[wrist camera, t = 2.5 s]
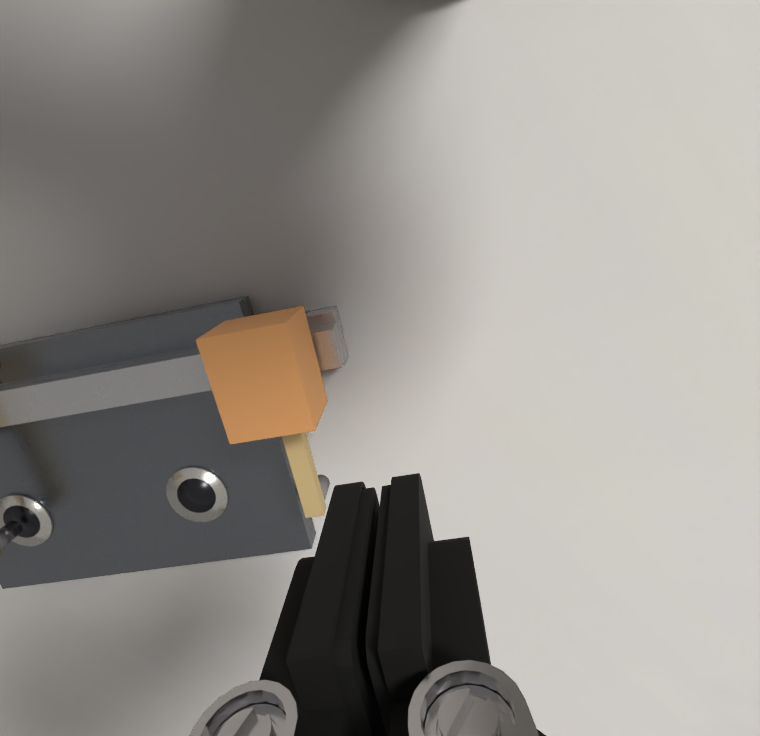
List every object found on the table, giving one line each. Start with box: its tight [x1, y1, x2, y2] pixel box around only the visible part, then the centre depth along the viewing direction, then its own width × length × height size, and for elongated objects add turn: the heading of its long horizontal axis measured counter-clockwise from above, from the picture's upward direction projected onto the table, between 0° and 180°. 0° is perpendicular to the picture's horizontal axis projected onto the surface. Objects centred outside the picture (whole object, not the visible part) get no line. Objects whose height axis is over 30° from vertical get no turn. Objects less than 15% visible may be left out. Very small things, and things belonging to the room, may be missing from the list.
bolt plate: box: [0, 296, 348, 589], centre depth 28 cm, size 27×16×7 cm, turn 102°
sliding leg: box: [196, 306, 330, 518], centre depth 25 cm, size 4×11×5 cm, turn 12°
